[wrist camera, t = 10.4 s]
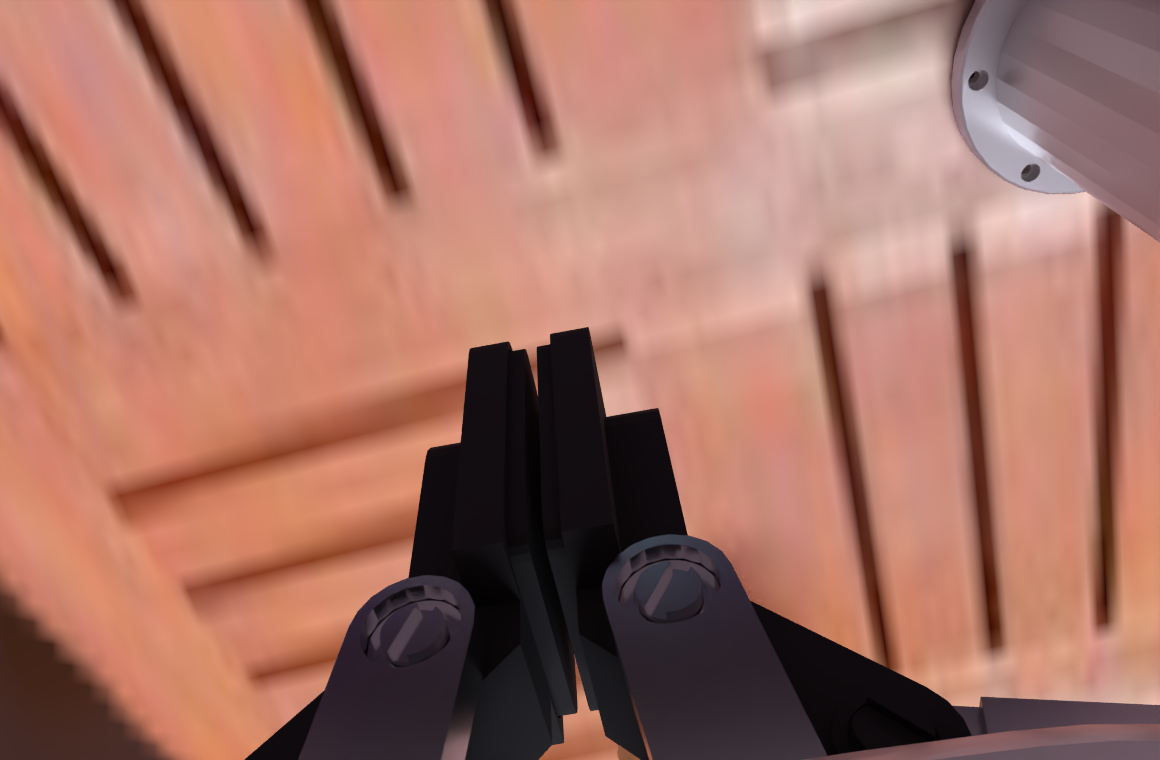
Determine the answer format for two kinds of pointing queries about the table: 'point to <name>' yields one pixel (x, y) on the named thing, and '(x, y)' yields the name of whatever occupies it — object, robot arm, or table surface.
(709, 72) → the table surface
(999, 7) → the robot arm
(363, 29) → the table surface
